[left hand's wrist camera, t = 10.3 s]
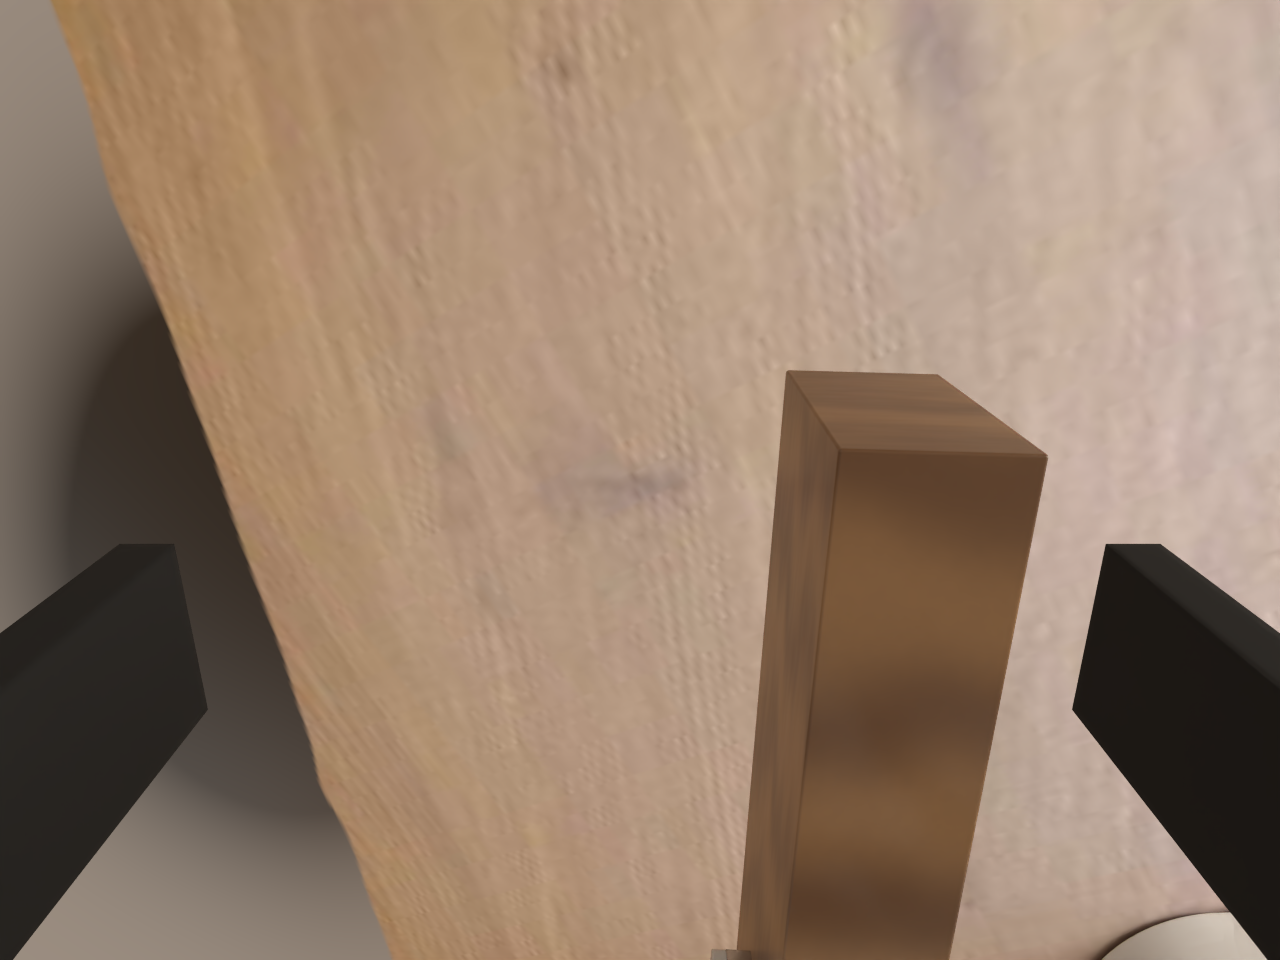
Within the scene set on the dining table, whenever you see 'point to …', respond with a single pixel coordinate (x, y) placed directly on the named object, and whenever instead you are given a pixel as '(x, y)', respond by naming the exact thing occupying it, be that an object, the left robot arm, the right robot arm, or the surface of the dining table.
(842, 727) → the bar
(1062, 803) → the dining table surface
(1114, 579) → the left robot arm
